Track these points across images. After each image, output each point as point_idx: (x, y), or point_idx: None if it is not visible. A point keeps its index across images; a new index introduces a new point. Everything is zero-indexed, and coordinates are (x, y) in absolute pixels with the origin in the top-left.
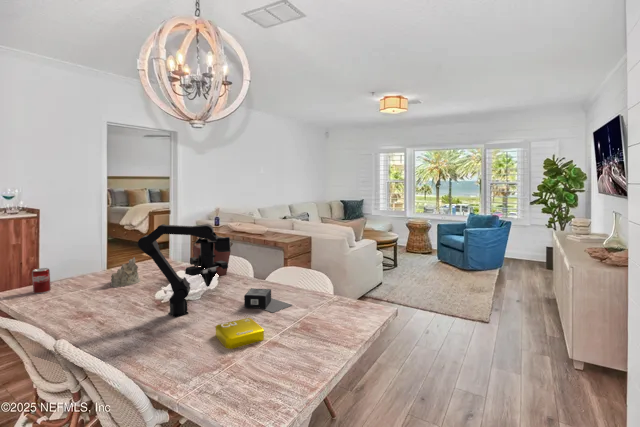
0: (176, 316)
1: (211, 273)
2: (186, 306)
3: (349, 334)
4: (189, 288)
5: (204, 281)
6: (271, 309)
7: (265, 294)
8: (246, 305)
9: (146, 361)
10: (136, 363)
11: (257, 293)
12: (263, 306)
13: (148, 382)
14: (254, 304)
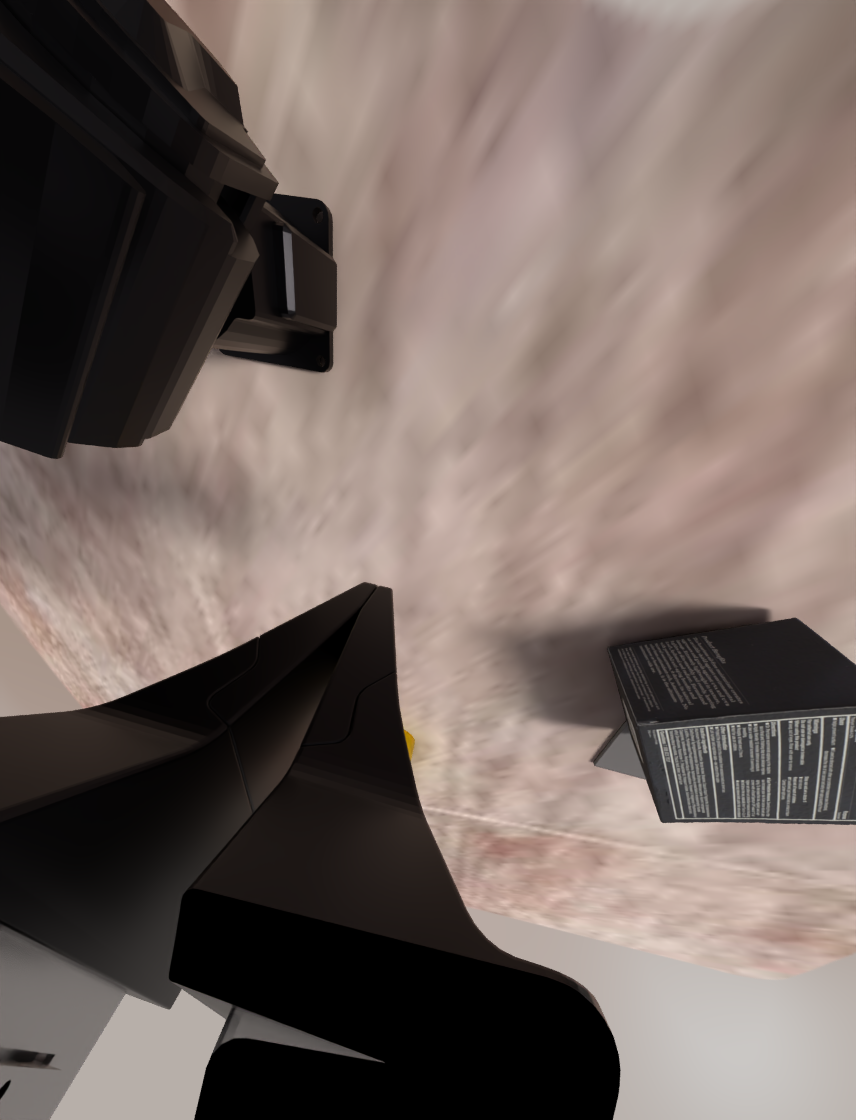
0: (229, 354)
1: (279, 956)
2: (301, 329)
3: (518, 904)
4: (172, 324)
5: (299, 615)
6: (633, 754)
7: (702, 817)
8: (613, 667)
9: (55, 617)
10: (28, 603)
11: (712, 781)
12: (632, 740)
13: (63, 682)
14: (626, 713)
